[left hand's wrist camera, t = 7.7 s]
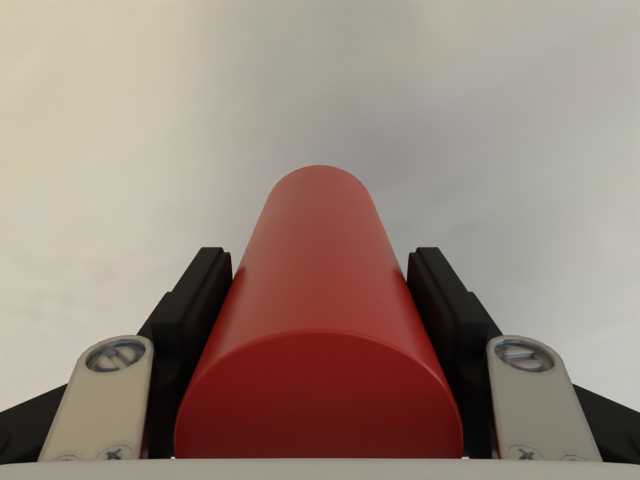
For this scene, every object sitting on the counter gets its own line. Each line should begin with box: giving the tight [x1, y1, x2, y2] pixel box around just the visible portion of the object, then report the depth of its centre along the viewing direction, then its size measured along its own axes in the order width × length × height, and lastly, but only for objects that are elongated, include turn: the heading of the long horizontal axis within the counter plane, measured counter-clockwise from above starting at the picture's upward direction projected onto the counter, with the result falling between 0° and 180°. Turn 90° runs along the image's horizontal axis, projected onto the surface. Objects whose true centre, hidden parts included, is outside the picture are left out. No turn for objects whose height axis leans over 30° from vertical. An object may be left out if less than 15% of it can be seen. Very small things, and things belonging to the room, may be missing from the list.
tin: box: [173, 165, 464, 459], centre depth 13 cm, size 5×5×12 cm
